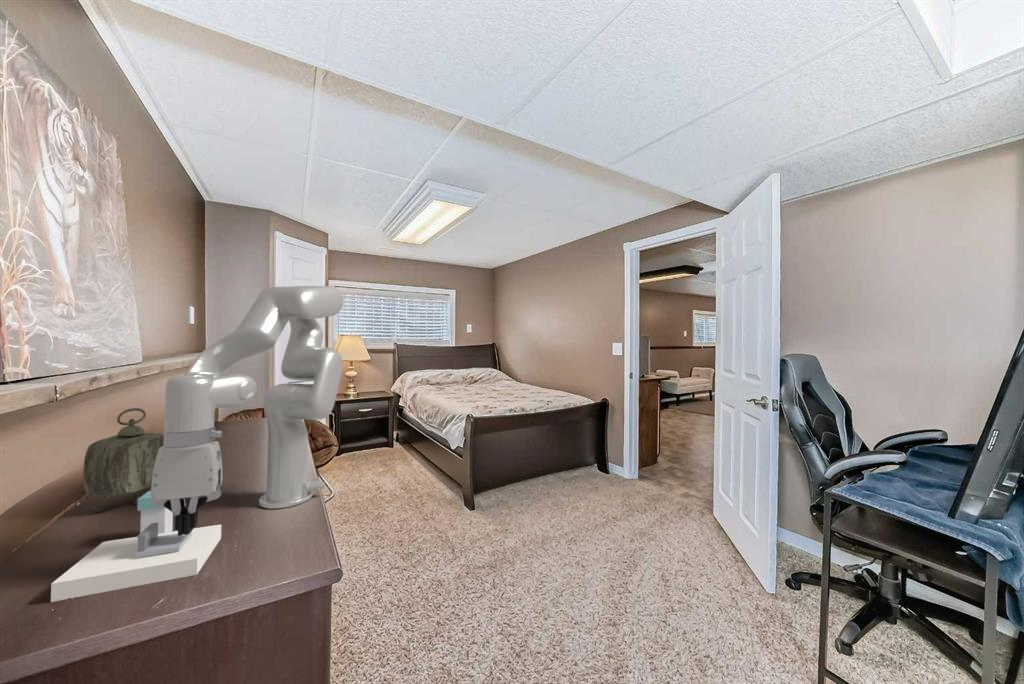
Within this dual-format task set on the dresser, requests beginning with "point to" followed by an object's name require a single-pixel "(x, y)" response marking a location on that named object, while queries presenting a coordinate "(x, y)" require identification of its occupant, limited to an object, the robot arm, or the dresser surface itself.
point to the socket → (134, 565)
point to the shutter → (159, 542)
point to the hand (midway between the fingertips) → (186, 531)
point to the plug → (154, 515)
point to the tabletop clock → (121, 462)
